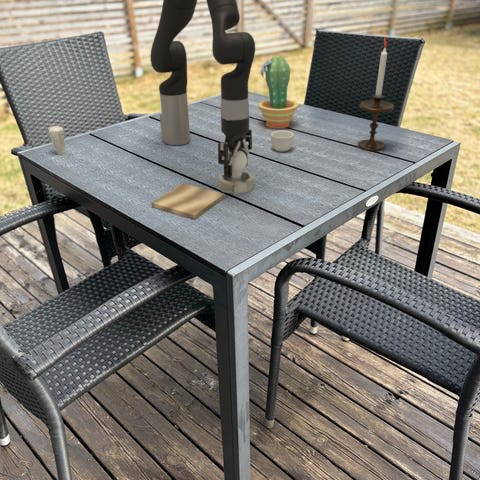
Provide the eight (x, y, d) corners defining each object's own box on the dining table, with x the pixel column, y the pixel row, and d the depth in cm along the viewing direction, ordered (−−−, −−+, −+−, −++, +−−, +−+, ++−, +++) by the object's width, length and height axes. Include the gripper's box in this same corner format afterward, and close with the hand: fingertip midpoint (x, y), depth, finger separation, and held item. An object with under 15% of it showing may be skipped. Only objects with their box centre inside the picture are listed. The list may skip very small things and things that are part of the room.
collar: (212, 189, 132) (212, 179, 131) (230, 176, 140) (230, 167, 138) (242, 196, 128) (242, 186, 126) (259, 183, 135) (259, 173, 134)
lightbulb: (250, 183, 135) (250, 147, 129) (241, 192, 130) (241, 155, 124) (231, 180, 137) (230, 144, 132) (221, 188, 133) (220, 152, 127)
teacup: (290, 154, 154) (291, 138, 152) (268, 152, 156) (268, 137, 154) (296, 144, 163) (296, 129, 160) (274, 142, 164) (275, 127, 162)
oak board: (151, 206, 124) (151, 202, 123) (183, 187, 134) (183, 183, 133) (194, 219, 117) (194, 215, 117) (224, 197, 128) (224, 193, 127)
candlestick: (348, 143, 162) (361, 35, 144) (374, 139, 166) (389, 33, 147) (367, 154, 154) (383, 40, 135) (394, 149, 157) (413, 37, 139)
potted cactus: (271, 116, 190) (272, 51, 177) (304, 123, 183) (308, 55, 169) (250, 126, 180) (249, 58, 167) (284, 133, 172) (286, 63, 159)
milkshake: (72, 151, 159) (66, 123, 154) (58, 156, 156) (51, 127, 150) (65, 148, 162) (59, 120, 156) (51, 153, 158) (44, 124, 153)
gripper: (236, 106, 130) (237, 160, 138) (208, 119, 119) (211, 177, 128) (260, 109, 126) (259, 165, 135) (233, 124, 116) (234, 183, 125)
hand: (236, 171), depth 131 cm, fingers open, 8 cm apart
